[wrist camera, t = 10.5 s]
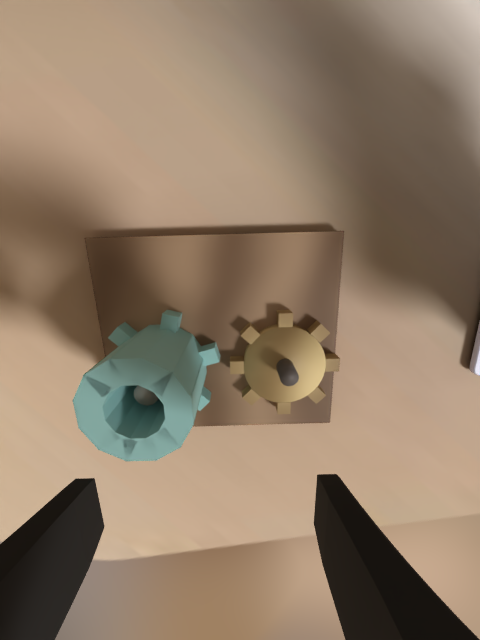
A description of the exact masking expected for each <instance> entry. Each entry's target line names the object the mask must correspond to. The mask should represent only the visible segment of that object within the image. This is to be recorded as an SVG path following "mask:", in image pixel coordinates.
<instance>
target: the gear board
mask: <svg viewBox="0 0 480 640" xmlns="http://www.w3.org/2000/svg"><path fill="white" fill-rule="evenodd" d="M343 238H344V231H325V232H289V233H252V234H215V235H178V236H141V237H105V238H85V242H86V247H87V253H88V259H89V265H90V271H91V276H92V282H93V288H94V294H95V300H96V305H97V311H98V317H99V323H100V328H101V334H102V340H103V346H104V352H105V357H106V356H107V355H109V354H110V353H111V352H112V351H114V350H115V349H116V348H117V347H119V346H117V345H116V344H115V343H113V342H112V341H111V340H110V339H108V337H109V336H110V335H111V334H112V333H113V331H114V330H115V329H116V328H117V327H118V326H120V325H121V324H123V323H124V322H126V323H127V324H128V325H130V326H131V327H132V328H133V329H134V330H136V331H137V332H139V331H141V330H142V329H144V328H146V327H147V326H148V325H160V324H161V318H162V313H164V312H165V311H166V310H172V311H176V312H181V313H182V318H181V323H180V328H181V329H183V330H185V331H187V332H189V333H191V334H193V335H194V337H195V338H196V340H197V341H198V342H199V344H200V345H201V346H204V345H207V344H211V343H214V342H216V344H217V347H218V350H219V353H220V361H219V362H218V363H215V364H211V365H207V366H206V369H207V374H206V378H205V382H204V387H205V388H206V389H208V390H209V391H210V392H211V398H210V402H209V403H208V404H207V405H206V406H205V407H204V408H203V409H202V410H201V411H199V410H197V413H196V417H195V421H194V425H193V426H227V425H263V424H298V423H330V415H331V401H332V388H333V374H334V371H339V365H340V358H339V357H338V356H337V355H336V354H335V347H336V333H337V320H338V306H339V292H340V279H341V265H342V251H343ZM134 397H135V399H136V401H137V402H138V403H140V404H142V405H146V406H149V405H153V404H154V403H156V402H157V400H158V397H157V396H156V394H155V393H154V392H152V391H150V390H148V389H145V388H143V387H141V386H139V385H137V387H136V388H135V390H134Z"/></svg>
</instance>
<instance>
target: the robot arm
mask: <svg viewBox="0 0 480 640" xmlns="http://www.w3.org/2000/svg"><path fill="white" fill-rule="evenodd" d="M470 371H471V372H472V373H474V374H476V375H480V322H479V326H478V331H477V335H476V340H475V344H474V349H473V353H472V358H471V363H470ZM314 526H315V531H316V536H317V540H318V545H319V550H320V554H321V559H322V563H323V567H324V570H325V574H326V577H327V580H328V583H329V587H330V590H331V594H332V597H333V600H334V603H335V607H336V610H337V613H338V616H339V620H340V623H341V626H342V629H343V632H344V636H345V639H346V640H479V639H478V638H477V636H476V635H474V633H473V632H472V631H471V630H470V629H469V628H468V627H467V626H466V625H465V624H464V623H463V622H462V621H461V620H460V619H459V618H458V617H457V616H456V615H455V614H454V613H453V612H452V611H451V610H450V609H449V607H448V606H447V605H446V604H445V603H444V602H443V601H442V600H441V599H440V598H439V597H438V596H437V595H436V593H435V592H434V591H433V590H432V589H431V588H430V587H429V586H428V584H427V583H426V582H425V581H424V580H423V579H422V578H421V577H420V576H419V574H418V573H417V572H416V571H415V570H414V569H413V568H412V567H411V565H410V564H409V563H408V562H407V561H406V560H405V559H404V557H403V556H402V555H401V554H400V553H399V552H398V550H397V549H396V548H395V547H394V546H393V544H392V543H391V542H390V541H389V540H388V538H387V537H386V536H385V535H384V534H383V532H382V531H381V530H380V529H379V528H378V526H377V525H376V524H375V523H374V521H373V520H372V519H371V518H370V516H369V515H368V514H367V513H366V511H365V510H364V509H363V508H362V506H361V505H360V504H359V502H358V501H357V500H356V499H355V497H354V496H353V495H352V493H351V492H350V491H349V489H348V488H347V487H346V485H345V484H344V483H343V481H342V480H341V479H340V477H339V476H338V475H337V474H323V475H317V487H316V501H315V515H314ZM103 529H104V522H103V518H102V513H101V508H100V503H99V498H98V493H97V488H96V483H95V479H94V478H91V479H75V480H74V481H73V482H71V483H70V484H69V485H68V486H67V487H65V488H64V489H63V490H62V491H61V492H60V493H59V494H57V495H56V496H55V497H54V498H53V499H52V500H51V501H49V502H48V503H47V504H46V505H45V506H44V507H43V508H42V509H40V510H39V511H38V512H37V513H36V514H35V515H34V516H32V517H31V518H30V519H29V520H28V521H27V522H26V523H24V524H23V525H22V526H21V527H20V528H19V529H17V530H16V531H15V532H14V533H13V534H12V535H11V536H9V537H8V538H7V539H6V540H5V541H4V542H2V543H1V544H0V640H55V638H56V636H57V634H58V632H59V630H60V628H61V626H62V623H63V621H64V619H65V617H66V615H67V613H68V611H69V609H70V607H71V605H72V603H73V601H74V599H75V597H76V594H77V592H78V590H79V588H80V586H81V584H82V582H83V580H84V578H85V575H86V573H87V571H88V569H89V567H90V564H91V562H92V559H93V556H94V554H95V551H96V549H97V546H98V543H99V540H100V537H101V535H102V532H103Z"/></svg>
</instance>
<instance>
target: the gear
mask: <svg viewBox="0 0 480 640" xmlns="http://www.w3.org/2000/svg"><path fill="white" fill-rule="evenodd" d="M181 318H182V313H181V312H176V311H172V310H166V311H165V312H164V313H162V318H161V324H160V325H148V326H147V327H146V328H144V329H142V330H141V331H139V332H137V331H136V330H134V329H133V328H132V327H131V326H130V325H128V324H127V323H126V322H124V323H123V324H121V325H120V326H118V327H117V328H116V329H115V330H114V331H113V333H112V334H111V335H110V336H109V337H108V339H110V340H111V341H112V342H113V343H115V344H116V345H117V346H119V347H117V348H116V349H115V350H114V351H112V352H111V353H110V354H109V355H107V356H106V357H105V358H104V359H102V360H101V361H100V362H99V363H98V364H96V365H95V366H94V367H93V368H91V369H90V370H89V371H88V372H86V373H85V374H84V375H83V378H82V380H81V383H80V385H79V387H78V390H77V392H76V394H75V397H74V399H73V404H74V408H75V413H76V418H77V422H78V428H79V429H80V430H81V431H82V432H83V433H84V434H85V435H86V436H87V437H88V439H89V440H90V441H91V442H92V443H93V444H94V445H95V446H96V447H97V448H98V450H101V451H103V452H105V453H108V454H110V455H113V456H115V457H118V458H120V459H122V460H125V461H153V460H155V461H156V460H158V459H160V458H162V457H163V456H165V455H167V454H169V453H171V452H173V451H175V450H176V449H178V448H180V447H181V445H182V444H183V442H184V440H185V438H186V437H187V435H188V433H189V432H190V430H191V428H192V426H193V425H194V421H195V417H196V413H197V410H199V411H201V410H202V409H203V408H204V407H205V406H206V405H207V404H208V403H209V402H210V398H211V392H210V391H209V390H208V389H206V388H205V387H204V382H205V378H206V374H207V369H206V366H207V365H211V364H215V363H218V362H219V361H220V353H219V350H218V347H217V344H216V342H214V343H211V344H207V345H204V346H201V345H200V344H199V342H198V341H197V340H196V338H195V337H194V335H193V334H191V333H189V332H187V331H185V330H183V329H181V328H180V323H181ZM137 385H139V386H141V387H143V388H145V389H148V390H150V391H152V392H154V393H155V394H156V396H157V397H158V400H157V402H156V403H154V404H153V405H149V406H146V405H142V404H140V403H138V402H137V401H136V399H135V397H134V390H135V388H136V387H137Z"/></svg>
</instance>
